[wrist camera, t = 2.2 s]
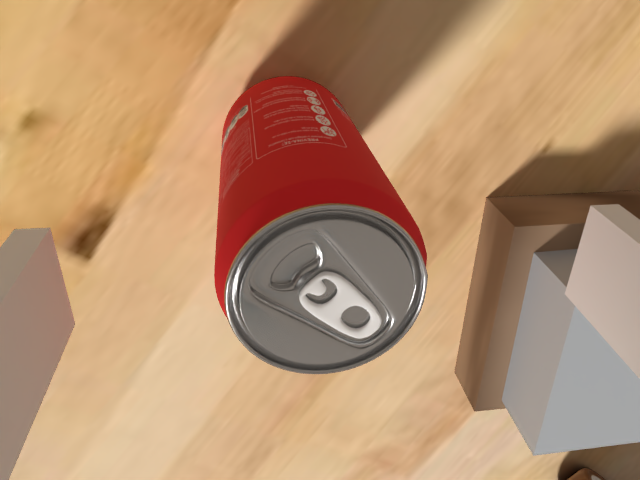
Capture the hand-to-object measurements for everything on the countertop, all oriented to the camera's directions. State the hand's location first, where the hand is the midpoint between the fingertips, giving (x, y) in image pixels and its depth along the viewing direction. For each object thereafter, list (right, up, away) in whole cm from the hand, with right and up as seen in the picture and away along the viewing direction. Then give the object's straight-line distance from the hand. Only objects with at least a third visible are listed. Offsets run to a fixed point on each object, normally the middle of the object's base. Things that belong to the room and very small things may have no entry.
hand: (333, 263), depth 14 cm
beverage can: (-2, +5, +9) cm, 11 cm away
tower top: (+14, -4, +13) cm, 19 cm away
